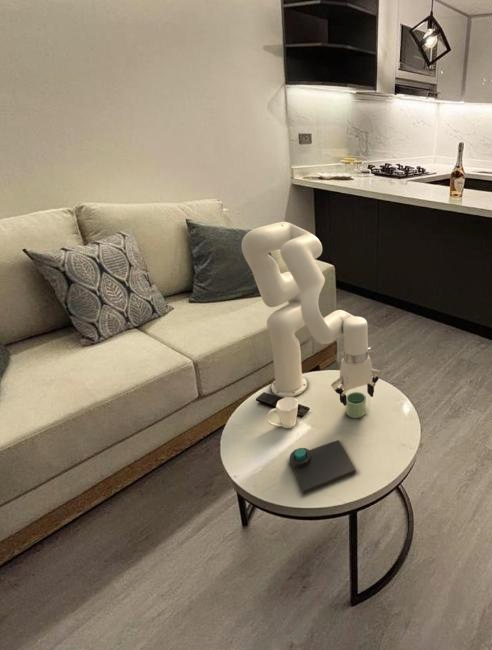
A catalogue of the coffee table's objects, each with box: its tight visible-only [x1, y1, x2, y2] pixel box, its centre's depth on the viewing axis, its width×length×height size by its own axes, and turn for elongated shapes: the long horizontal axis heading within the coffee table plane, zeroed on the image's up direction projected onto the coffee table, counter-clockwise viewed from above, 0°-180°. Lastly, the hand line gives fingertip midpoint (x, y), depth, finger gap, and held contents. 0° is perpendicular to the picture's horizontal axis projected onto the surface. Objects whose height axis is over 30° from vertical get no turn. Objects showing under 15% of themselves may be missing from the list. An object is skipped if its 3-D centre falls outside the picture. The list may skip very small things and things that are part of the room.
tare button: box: [295, 448, 306, 461], centre depth 116 cm, size 3×3×2 cm
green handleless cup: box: [345, 391, 367, 419], centre depth 137 cm, size 7×7×6 cm
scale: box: [289, 439, 357, 495], centre depth 116 cm, size 14×16×3 cm
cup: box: [266, 396, 299, 429], centre depth 130 cm, size 7×10×8 cm
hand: (357, 398), depth 136 cm, fingers open, 9 cm apart
